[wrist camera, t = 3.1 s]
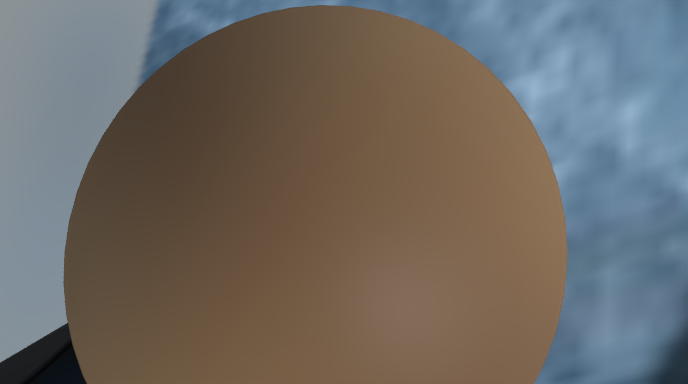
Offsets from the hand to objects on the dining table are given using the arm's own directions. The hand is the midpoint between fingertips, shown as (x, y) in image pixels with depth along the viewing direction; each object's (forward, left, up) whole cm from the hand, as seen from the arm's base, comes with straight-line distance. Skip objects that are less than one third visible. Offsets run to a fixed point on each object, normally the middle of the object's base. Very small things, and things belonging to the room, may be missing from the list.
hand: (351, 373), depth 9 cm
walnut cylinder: (+1, +1, -9) cm, 9 cm away
